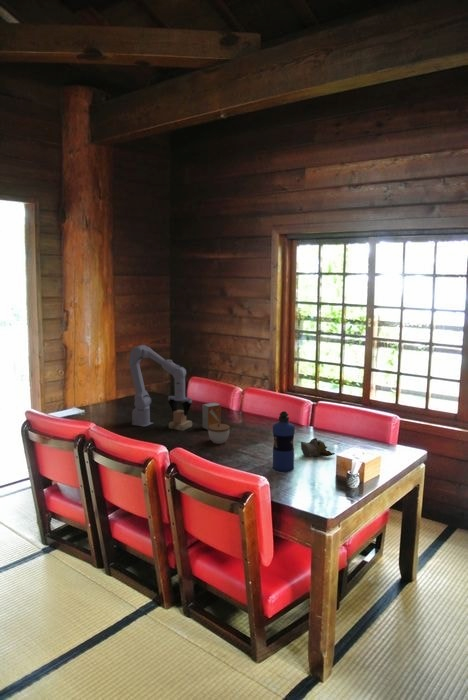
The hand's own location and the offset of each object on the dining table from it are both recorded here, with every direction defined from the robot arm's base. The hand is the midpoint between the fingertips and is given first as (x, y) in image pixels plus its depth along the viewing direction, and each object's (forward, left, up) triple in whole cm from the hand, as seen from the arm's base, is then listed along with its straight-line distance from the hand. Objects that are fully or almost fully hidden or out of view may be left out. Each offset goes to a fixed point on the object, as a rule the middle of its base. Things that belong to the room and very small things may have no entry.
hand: (180, 414), depth 287 cm
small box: (+15, +8, -8) cm, 19 cm away
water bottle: (+74, -26, -8) cm, 79 cm away
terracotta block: (0, 0, -4) cm, 4 cm away
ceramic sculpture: (+80, -4, -8) cm, 81 cm away
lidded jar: (+31, -10, -8) cm, 33 cm away
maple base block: (0, 0, -8) cm, 8 cm away
